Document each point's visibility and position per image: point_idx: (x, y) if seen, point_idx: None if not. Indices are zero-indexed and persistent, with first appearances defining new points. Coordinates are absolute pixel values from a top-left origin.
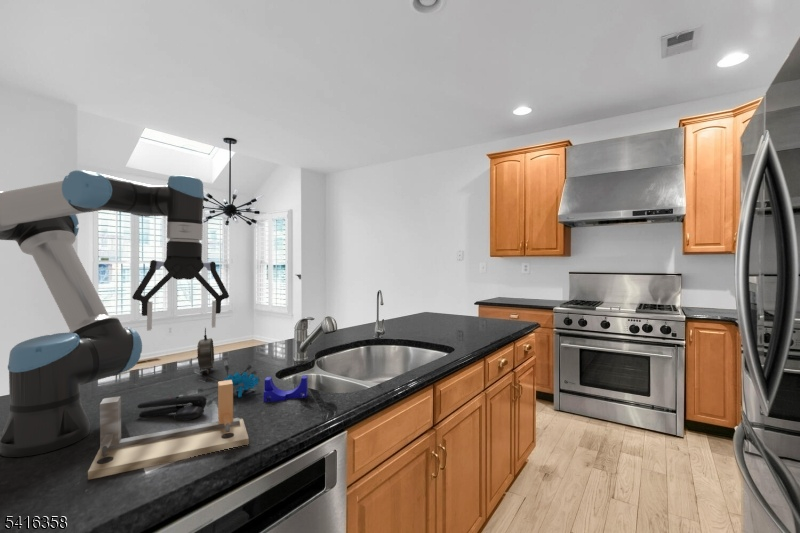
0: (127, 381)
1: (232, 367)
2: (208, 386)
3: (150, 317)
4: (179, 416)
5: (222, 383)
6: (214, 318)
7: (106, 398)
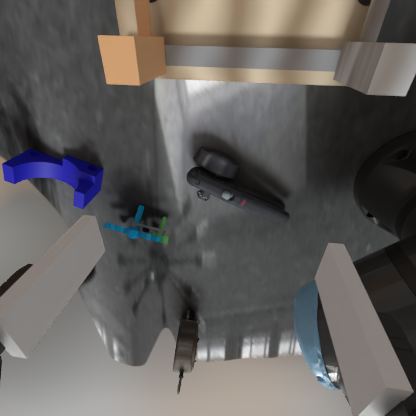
0: (284, 330)
1: (157, 317)
2: (188, 269)
3: (350, 290)
4: (231, 159)
5: (126, 55)
6: (62, 240)
7: (399, 93)
